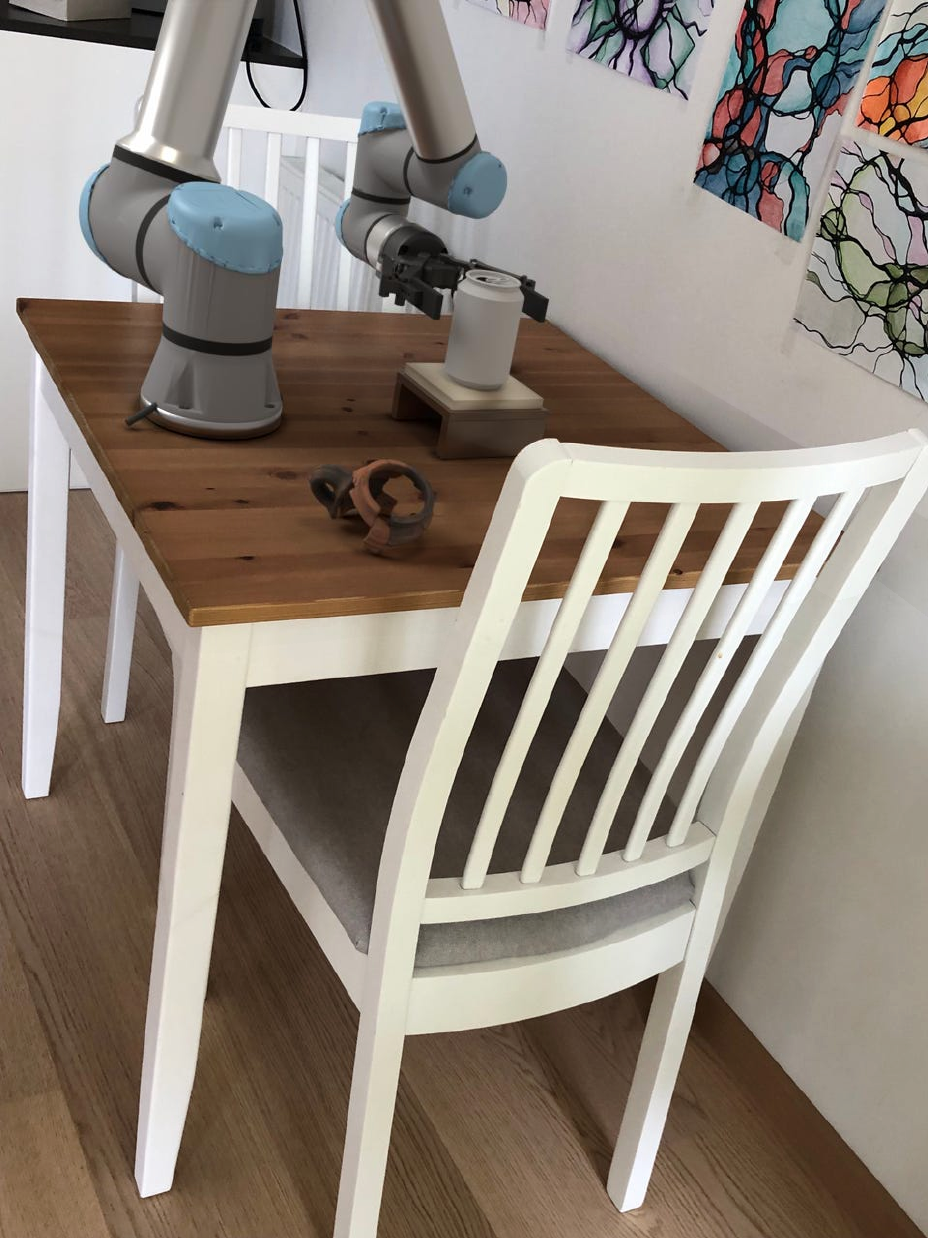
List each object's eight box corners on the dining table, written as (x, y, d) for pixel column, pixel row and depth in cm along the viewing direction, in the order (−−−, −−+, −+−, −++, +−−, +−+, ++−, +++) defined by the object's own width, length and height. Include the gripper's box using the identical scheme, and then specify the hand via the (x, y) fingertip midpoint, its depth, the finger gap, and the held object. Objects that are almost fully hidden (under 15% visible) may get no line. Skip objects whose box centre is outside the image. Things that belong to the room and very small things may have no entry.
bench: (441, 459, 137) (451, 402, 134) (390, 415, 146) (398, 360, 143) (539, 455, 143) (551, 400, 140) (484, 413, 153) (494, 360, 149)
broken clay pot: (418, 517, 123) (450, 469, 117) (401, 592, 118) (434, 546, 111) (304, 473, 120) (331, 421, 114) (282, 548, 115) (309, 497, 108)
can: (448, 364, 145) (466, 261, 139) (510, 378, 145) (531, 276, 139) (436, 382, 138) (454, 275, 133) (501, 397, 138) (522, 290, 132)
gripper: (489, 288, 160) (578, 343, 144) (310, 281, 147) (386, 340, 132) (500, 229, 156) (592, 279, 141) (318, 217, 144) (396, 270, 128)
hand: (492, 309), depth 136 cm, fingers open, 13 cm apart
